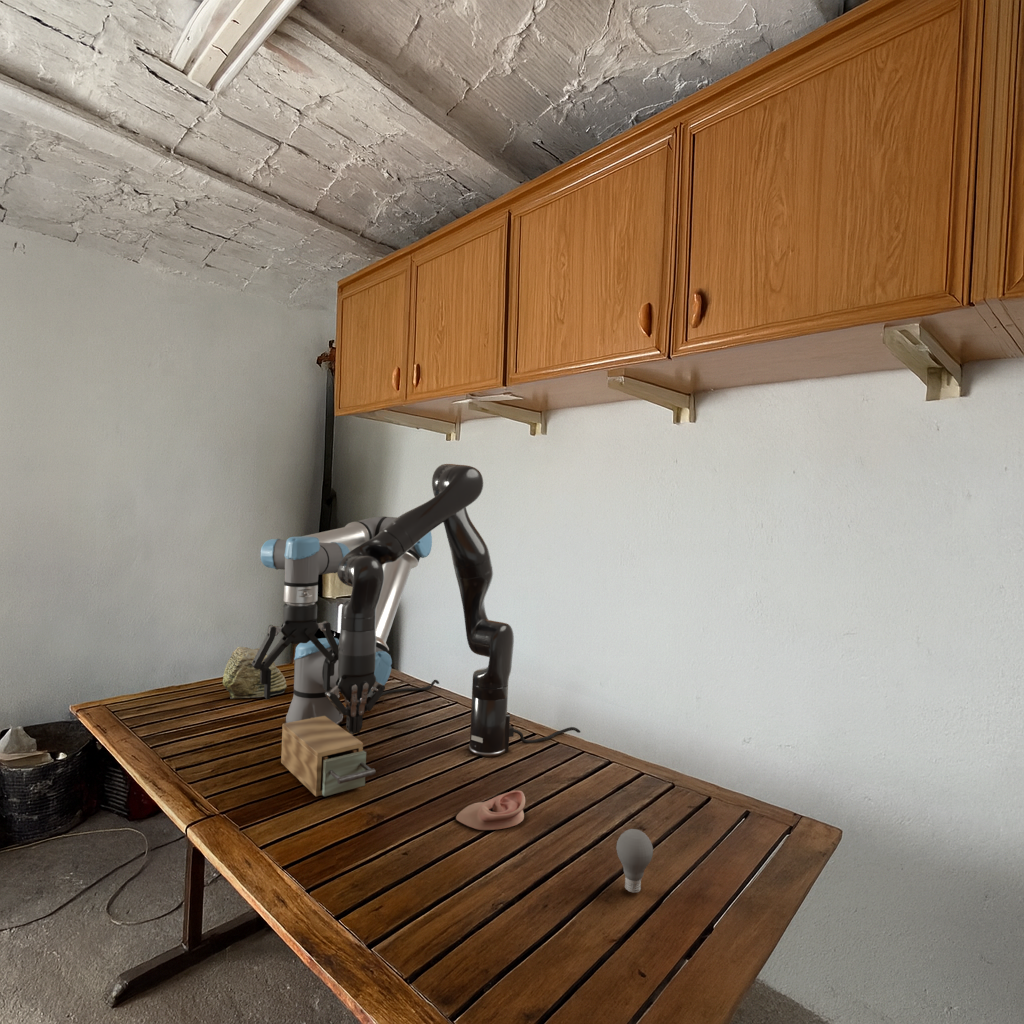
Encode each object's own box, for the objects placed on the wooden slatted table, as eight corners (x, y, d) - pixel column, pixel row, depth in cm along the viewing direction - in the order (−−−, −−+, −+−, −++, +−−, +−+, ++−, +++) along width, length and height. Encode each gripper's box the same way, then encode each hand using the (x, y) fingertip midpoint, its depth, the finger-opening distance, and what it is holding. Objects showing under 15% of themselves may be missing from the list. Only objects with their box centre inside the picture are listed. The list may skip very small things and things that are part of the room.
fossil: (218, 695, 195) (220, 647, 195) (278, 685, 208) (279, 640, 207) (228, 703, 189) (230, 653, 188) (289, 692, 201) (290, 645, 201)
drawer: (377, 795, 133) (378, 761, 133) (335, 807, 127) (337, 771, 127) (328, 755, 153) (329, 725, 152) (290, 764, 147) (291, 732, 147)
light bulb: (610, 879, 108) (613, 822, 108) (644, 879, 109) (647, 822, 109) (619, 902, 102) (622, 840, 102) (655, 901, 103) (658, 840, 103)
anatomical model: (452, 805, 124) (467, 780, 135) (451, 826, 124) (467, 799, 135) (518, 815, 121) (529, 789, 132) (517, 836, 121) (528, 808, 132)
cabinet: (361, 784, 140) (363, 742, 140) (315, 796, 134) (317, 753, 133) (323, 752, 156) (324, 715, 156) (281, 762, 150) (282, 723, 149)
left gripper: (247, 609, 137) (243, 706, 138) (358, 602, 151) (354, 690, 152) (240, 603, 144) (237, 696, 144) (347, 597, 157) (344, 682, 158)
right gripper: (334, 657, 125) (331, 745, 125) (394, 650, 133) (391, 731, 133) (319, 649, 130) (316, 733, 131) (377, 642, 139) (374, 721, 139)
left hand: (297, 693), depth 148 cm, fingers open, 13 cm apart
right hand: (354, 732), depth 132 cm, fingers closed
